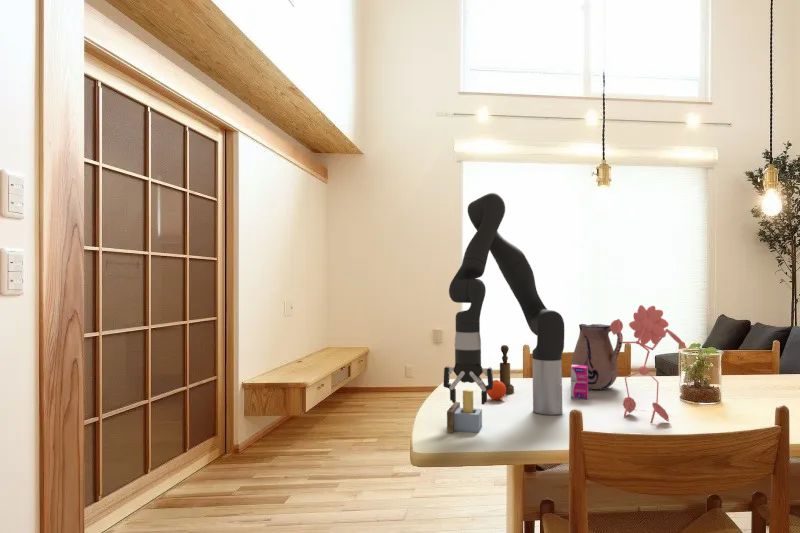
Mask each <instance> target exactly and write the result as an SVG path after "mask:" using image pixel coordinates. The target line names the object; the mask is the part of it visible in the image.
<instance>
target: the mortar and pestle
mask: <svg viewBox="0 0 800 533" xmlns="http://www.w3.org/2000/svg"><path fill="white" fill-rule="evenodd" d="M509 350H510V349H509V346H508V345H506V344H502V345H501V347H500V351H501V353H502V357H501V359H502V362H500V363H499V381H501V382H502V383H503V384H504V385H505V387H506V394H505V395H507V394H509V395H510V394H514V393H515V387H514V386H513V384H512V383H511V363H510V362H508V360H509V357H508V352H509Z"/></svg>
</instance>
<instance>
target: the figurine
mask: <svg viewBox="0 0 800 533" xmlns="http://www.w3.org/2000/svg"><path fill="white" fill-rule="evenodd" d="M663 315H664V310H662V309H656V306H655V305H651V306H649V307H648V308H647V309H646V307H645V306H644V305H642V304H640V305H639V306H638V308H637V312H633V321H630V322H629V323H628V326H629V328H630V329H632V330H633V331H634V333H633V337H634V338H635V339H637V340H636V341H622V336H623V335H622V336H621V333H622V330H623V328H624V327H623V326H624V324H623V322H622V321H621V320H620V318H617V319H614V320H613V321H612V322H611V323H610V324H609V325H610V329H611V333H612V334H613V335H617V333H619V335H620V342H621V343H622V344H636V345H639V346H640V347H642V348H643V349H644V350H646V351H647V353H646V356H645V361H644V365H643V366H640V367H639V368H638V371H637V372H634V373H632V374H630V375H627V376H625V377H624V383H625V386H626V392H627V397H625V398H624V400H623V401H622V402H623V403H622V405H623V408H624V413H623V418H626V416H627V414H628V413H629V414H631V413H632V412H634V411H635V410H636V408H637V407H636V406H637V403H636V401H635V399H634V398H632V397H631V396H630V393H629V388H628V382H627V378H629V377H632V376H635V375H637V374H640V375H642V376H647V375H649V376H650V377H651V378H652V379H653V380H654V381H655V382H656V384H657V385H656V400H655V401H656V402H655V401H654V402H652V404H651V405H652V408H653V411H652V416H651V419H650V424H651V423H652V424H653V423H654V419H655V414H656V413H655V412H657V414H658V416H660V417H661V418H662V419H664V420H665V421H667V422H670V418H669V417H670V416H669V414H668V412H667V410H665V409H664V408H663V406H661V405H660V404H659V400H658V399H659V383H660V382H659V381H658V380H657V379H656V378H655V377H654V376H653V375H652V374H651V373H650V372H649V368H648V367H647V366H646V365H647V362H648V359H649V355H650V352H651V351H654V350H655V348H656V347H657V346H658V344H659V343H660V341H662V339H663V338H665V337H666V336H667V333H668V335H669V336H670V337H671V338H672V339H673V340H674V341H675V342H676V343H677V344H679V345H680V346H682V347H683V348H685V349H686V348H687V345H685V342H684V341H682V339H681V338H680V337H678V335H677V334H675V332H673V331H671V330H669V329H668V327H669V325H670V324H669V322H668V321H667V320H666V319H664V318H663ZM649 342H652V343H651V344H653V346H652V347H650V346H648V345H646V344H648V343H649ZM650 350H651V351H650ZM667 428H668V429H669V428H671V426H668V427H667Z"/></svg>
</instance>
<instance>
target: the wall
mask: <svg viewBox="0 0 800 533" xmlns="http://www.w3.org/2000/svg"><path fill="white" fill-rule="evenodd" d="M458 408H461V402H459V401H456V402H455V403H452V405H451V406H450V407H449V408H448V410H446V433H447V434H454V432H455V431H454V413H455V411H456V410H457V409H458Z"/></svg>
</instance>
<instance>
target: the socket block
mask: <svg viewBox="0 0 800 533" xmlns="http://www.w3.org/2000/svg"><path fill="white" fill-rule="evenodd" d="M482 427H483V409H482V408H473V413H463V407H460V408H458V409H457V410H456V411H455V413H454V432H466V433H478V434H479V433H480V431H481V430H482Z"/></svg>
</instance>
